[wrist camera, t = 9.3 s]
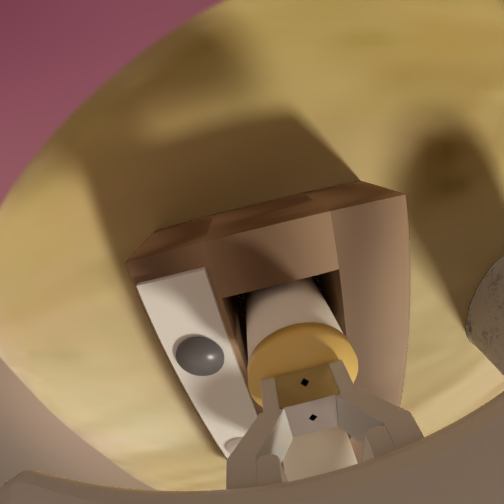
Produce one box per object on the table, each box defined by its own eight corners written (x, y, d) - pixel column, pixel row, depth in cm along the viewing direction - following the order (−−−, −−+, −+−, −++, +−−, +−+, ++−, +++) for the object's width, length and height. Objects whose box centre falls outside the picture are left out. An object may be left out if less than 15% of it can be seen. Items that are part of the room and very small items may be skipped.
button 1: (306, 246, 17) (356, 321, 9) (317, 308, 18) (358, 398, 11) (235, 264, 17) (234, 351, 9) (252, 324, 18) (262, 423, 11)
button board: (361, 180, 16) (405, 194, 11) (370, 441, 24) (384, 477, 20) (155, 230, 16) (124, 262, 11) (258, 468, 25) (261, 507, 20)
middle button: (334, 379, 17) (372, 483, 9) (337, 416, 18) (366, 506, 11) (269, 395, 17) (284, 506, 9) (281, 430, 18) (295, 524, 11)
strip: (205, 266, 12) (203, 271, 11) (293, 499, 20) (294, 503, 19) (138, 283, 12) (134, 288, 11) (261, 504, 20) (262, 508, 19)
